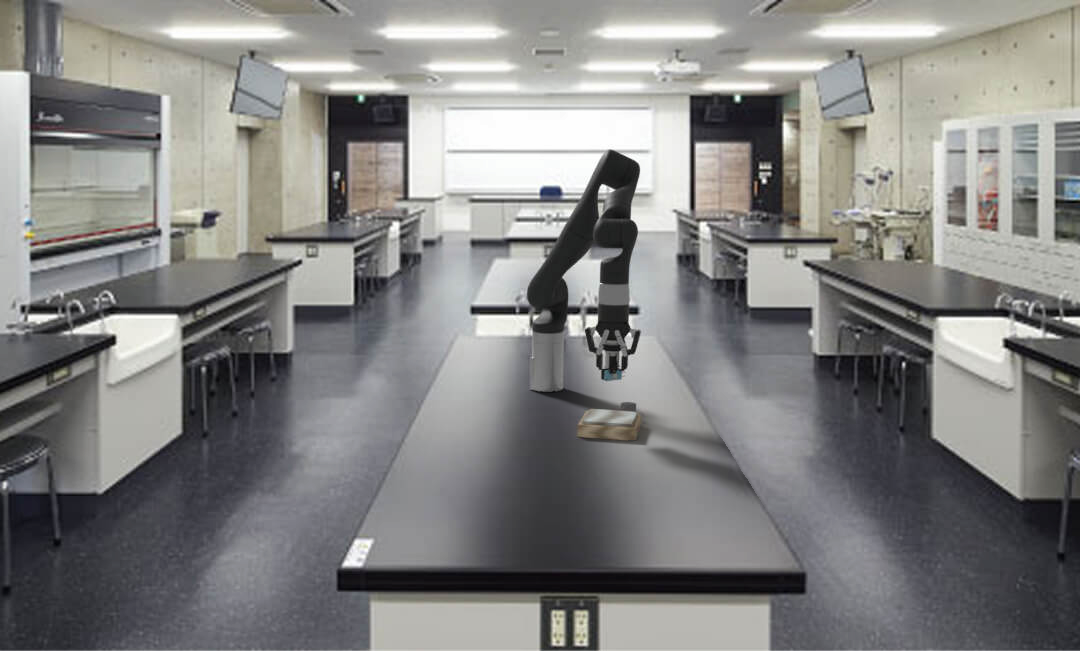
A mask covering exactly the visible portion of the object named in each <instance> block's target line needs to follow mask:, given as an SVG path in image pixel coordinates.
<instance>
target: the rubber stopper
mask: <svg viewBox="0 0 1080 651" xmlns="http://www.w3.org/2000/svg"><path fill="white" fill-rule="evenodd" d="M620 411H632V412H637V403H635V402H631V401H624V402H621V403H620Z"/></svg>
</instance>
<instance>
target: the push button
mask: <svg viewBox="0 0 1080 651" xmlns="http://www.w3.org/2000/svg"><path fill="white" fill-rule="evenodd" d="M602 346H604V347H603V351H604V353H605V354H604V355H605V357H604V367H603V368H602V370H600V371H601V374H600V379H601V380H602V381H604V382H610V381H611V382H612V381H620V380H622V379H623V377H626V375H624V374H627V372H626V371H621V365H620V353H621V352H620V351H621V348H620V347H621V345H619V344H618V341H617V340H606V342H605V344H602Z"/></svg>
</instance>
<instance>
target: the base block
mask: <svg viewBox="0 0 1080 651" xmlns="http://www.w3.org/2000/svg"><path fill="white" fill-rule="evenodd" d="M641 427H642V414H641V413H638V411H636V412H632V411H621V410H615V409H599V408H597V409H596V408H589V410H586V411H585V412H584V414H583V415H582V417H581V419H580V421H579V422H578V423H577V432H576V434H577V438H589V439H602V440H603V439H604V440H616V441H618V440H619V441H628V440H635V439H637V437H638V435H637V434H639V432H640V430H641ZM639 429H640V430H639ZM636 436H637V437H636ZM617 439H618V440H617ZM635 441H636V440H635Z"/></svg>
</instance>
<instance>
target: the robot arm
mask: <svg viewBox="0 0 1080 651" xmlns="http://www.w3.org/2000/svg"><path fill="white" fill-rule="evenodd" d="M640 174H641V166H640V163H639V162H637V161H636V160H634V159H633V158H630V157H629V156H626V155H625V154H622V153H621V152H618V151H616V150H614V149H607V150H606V151H604V153H603V154H602V156H601V157H600V158H599V161H598V162H597V165H596V166H595V168H594V170H593V172H592V175H591V176H590V179H589V181H588V183H587V185H586V187H585V190H584V191H583V193H582V195H581V197H580V199H579V201H578V202H577V203H576V206H575V208H574V209H573V210H572V213H571V214H570V216H569V217H568V219H567V221H566V223H565V225H564V226H563V228H562V230H561V231H560V234H559V235H558V237H557V240H556V241H555V243H554V245H553V246H552V248H551V250H550V252H549V254H548V255H547V257H546V258H545V260H544V262H543V263H542V265H541V266H540V268H539V269H538V270H537V271H536V273H535V274H534V276H533V277H532V279H531V280H530V281H529V284H528V286H527V289H526V298H527V302H528V304H529V305H530V306H531V307H532V308H535V309H539V310H541V311H540V314H539V316H537V317H536V318H535V319H534V320H533V321H532V326H531V327H532V328H531V330H532V331H531V333H532V335H531V338H532V339H531V341H532V342H531V357H530V358H529V390H531V391H537V392H541V391H542V392H543V393H552V392H553V391H555V392H560V391H562V390H563V389H564V386H563V385H564V351H565V350H564V344H565V342H564V341H565V337H564V336H565V334H564V333H565V325H566V323H567V321H568V309H569V287H568V284H567V281H566V280H565V279H564V278H563V277H564V275H565V274H566V273H567V272H568V271H569V270H571V268H572V267H574V266H575V265H576V264H578V262H579V261H580V260H581V259H583V258H584V256H585V255H586V254H587V253H588V252H589V250H590V249H591V247H592V245H593V244H594V243H595V244H596V246H598V247H599V248H603V249H622V250H621V253H620V254H618V255H617V256H612V257H607V258H604V259H602V260H601V262H600V265H599V266H600V267H599V287H598V295H597V296H598V298H597V300H598V301H597V304H598V305H597V323H596V325H595V326H591V327H590V326H588V327H586V328H585V329H584V333H585V338H586V342H587V348H588V351H589V353H594V354H595V357H596V358H595V365H596V368H598V370H599V371H601V370H602V369H604V367H603V366H604V364H603V363H604V354H603V351H604V350H603V347H604V346H602V344H605V342H606V340H617V341H618V344H619V345H621V347H620V348H621V352H620V353H621V354H622V356H621V358H620V359H621V362H620V363H621V365H620V369H621V371H622V372H626V371H625V370H627V369H628V367H629V366H628V365H629V356H632V355H635V353H636V351H637V348H638V344H639V341H640V337H641V334H642V330H641V329H635V328H633V327H631V326H630V321H629V318H630V300H631V298H630V295H631V294H630V285H629V284H630V266H631V259H632V256H633V252H634V248H635V245H636V242H637V239H638V234H639V230H638V229H639V228H638V225H637V223H636V222H635V221H634V220H633V219H632V217H631V216H632V203H633V199H634V196H635V193H636V189H637V185H638V182H639V179H640V176H641V175H640ZM602 185H603V186H606V187H609V188H610V189H613V191H611V192H610V193H609V194H607V196H606V197H605V199H604V201H603V205H602V214H601V215H600V213H599V192H600V188H601V186H602ZM596 332H597V334H598V335H599V338H601V339H600V341H599V344H598V345H597V347H596V345H595V339H594V336H595V334H596ZM629 334H630V337H631V338H632V343H631V347H630V348H629V349H628V346H627V341H626V337H627V336H628V335H629Z"/></svg>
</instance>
